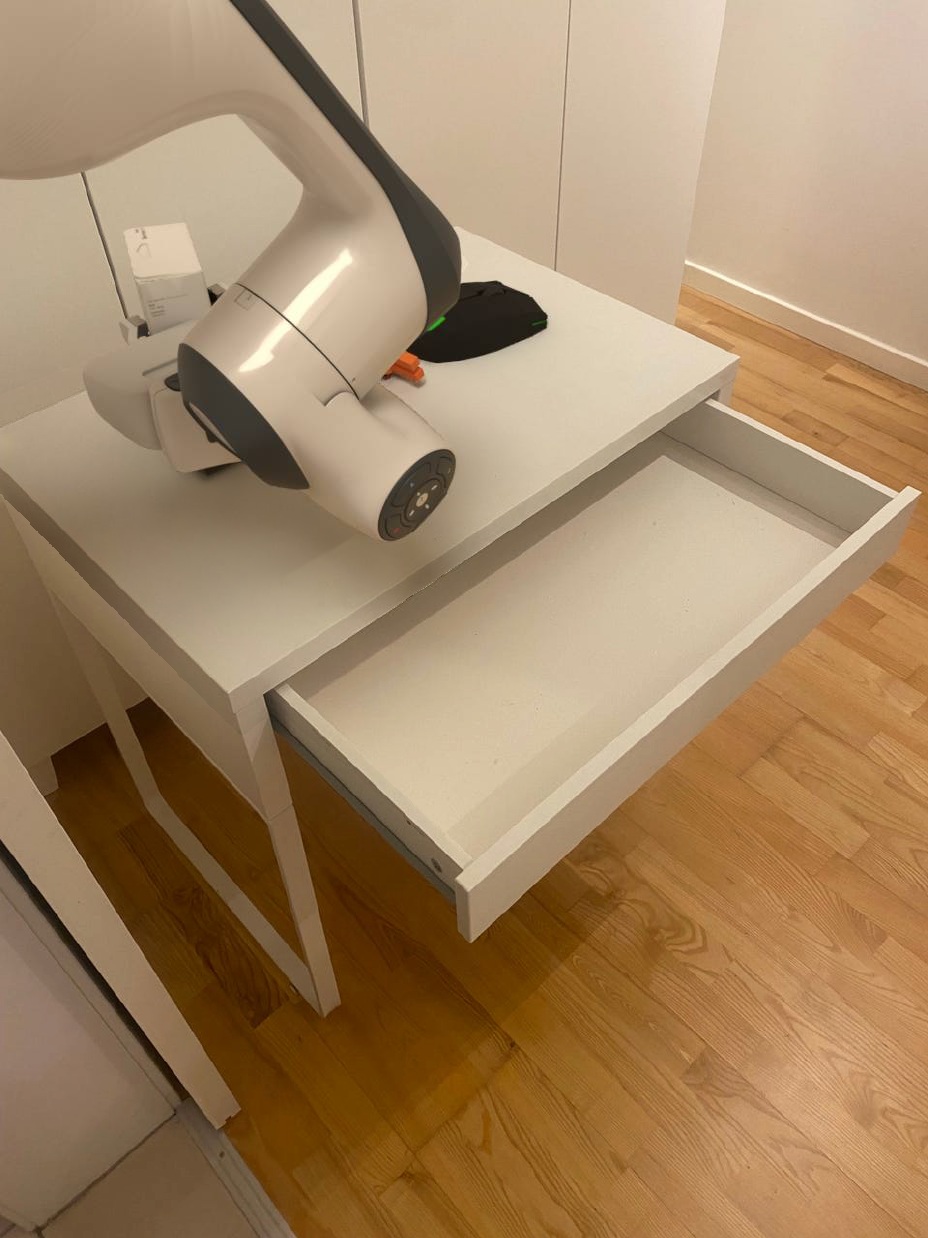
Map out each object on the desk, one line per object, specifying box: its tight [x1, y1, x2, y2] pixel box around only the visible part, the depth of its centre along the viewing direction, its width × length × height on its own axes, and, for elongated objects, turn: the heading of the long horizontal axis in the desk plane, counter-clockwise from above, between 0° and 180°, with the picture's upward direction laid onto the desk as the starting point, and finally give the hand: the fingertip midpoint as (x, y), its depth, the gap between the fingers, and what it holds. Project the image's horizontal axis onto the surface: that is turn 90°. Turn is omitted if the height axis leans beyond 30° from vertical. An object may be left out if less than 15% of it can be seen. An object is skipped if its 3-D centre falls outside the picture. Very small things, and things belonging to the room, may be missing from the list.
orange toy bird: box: [384, 351, 425, 383], centre depth 96 cm, size 5×8×12 cm
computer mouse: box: [406, 279, 549, 364], centre depth 103 cm, size 11×16×4 cm
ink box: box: [123, 221, 211, 336], centre depth 74 cm, size 9×5×12 cm, turn 20°
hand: (172, 309), depth 74 cm, fingers closed on ink box, 6 cm apart
